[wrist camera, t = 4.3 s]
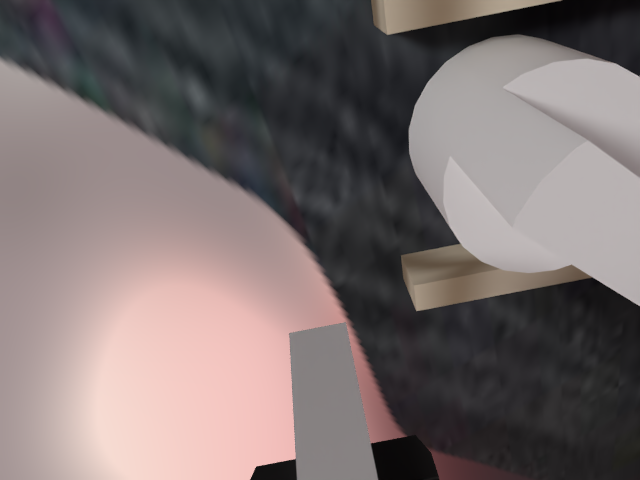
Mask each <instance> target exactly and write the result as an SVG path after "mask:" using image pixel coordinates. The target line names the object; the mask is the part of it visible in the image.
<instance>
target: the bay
mask: <svg viewBox="0 0 640 480" xmlns="http://www.w3.org/2000/svg"><path fill="white" fill-rule="evenodd" d="M556 1H561V0H371V2H372V11H373V20H374V25H375V26H376V27H378V28H379V29H380V30H382V31H383V32H384V33H386V34H387V35H389V34H394V33H399V32H404V31H409V30H414V29H419V28H424V27H429V26H434V25H439V24H444V23H449V22H454V21H459V20H465V19H470V18H475V17H480V16H485V15H490V14H495V13H500V12H505V11H510V10H515V9H520V8H525V7H530V6H535V5H540V4H546V3H551V2H556ZM401 260H402V269H403V277H404V281H405V284H406V286H407V289H408V291H409V294H410V296H411V298H412V301H413V303H414V306H415V308H416V311H419V310H425V309H430V308H435V307H440V306H445V305H451V304H456V303H461V302H466V301H472V300H477V299H482V298H487V297H492V296H498V295H503V294H508V293H513V292H518V291H524V290H529V289H534V288H539V287H544V286H550V285H555V284H560V283H565V282H571V281H576V280H581V279H586V278H591V276H590V275H588V274H586V273H585V272H583V271H582V270H580V269H578V268H577V267H575V266H573V265H569V266H566V267H563V268H560V269H557V270H551V271H543V272H535V273H523V272H514V271H505V270H502V269H499V268H497V267H494V266H491V265H489V264H486V263H484V262H481V261H480V260H479V259H478V258H476V257H475V256H474V255H473V254H471V253H470V252H469V251H468V250H466V249H465V248H464V247H463V246H462V245H461V244H457V245H452V246H447V247H442V248H437V249H431V250H426V251H421V252H416V253H411V254H405V255H401Z"/></svg>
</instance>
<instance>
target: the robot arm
mask: <svg viewBox="0 0 640 480" xmlns="http://www.w3.org/2000/svg"><path fill="white" fill-rule="evenodd" d="M289 335H290V355H291V374H292V393H293V412H294V430H295V431H294V432H295V450H296V459H295V460H289V461H284V462H278V463H273V464H268V465H262V466H257V467H256V468H255V470H254V473H253V475H252V477H251V479H250V480H439V476H438V473H437V470H436V467H435V464H434V461H433V458H432V454H431V452H430V451H429V450H428V449H427V448H426V447H425V445H424V444H423V443H422V442H421V441H420V440H419V439H418V438H417V436H416V435H413V436H408V437H402V438H397V439H392V440H387V441H381V442H376V443H370V439H369V433H368V428H367V424H366V419H365V414H364V409H363V404H362V399H361V395H360V390H359V385H358V380H357V375H356V370H355V366H354V361H353V356H352V351H351V346H350V341H349V336H348V331H347V327H346V322H345V323H340V324H335V325H329V326H324V327H319V328H314V329H309V330H303V331H298V332H293V333H290V334H289Z"/></svg>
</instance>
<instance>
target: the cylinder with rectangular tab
mask: <svg viewBox="0 0 640 480" xmlns="http://www.w3.org/2000/svg"><path fill="white" fill-rule="evenodd" d="M409 154H410V157H411V160H412V164H413V167H414V170H415V173H416V175H417V177H418V178H419V180H420V181H421V183H422V184H423V186H424V187H425V189H426V191H427V192H428V194H429V195H430V197H431V198H432V200H433V201H434V203H435V205H436V206H437V208H438V209H439V211H440V212H441V214H442V215H443V217H444V219H445V220H446V222H447V223H448V225H449V226H450V228H451V229H452V231H453V232H454V234H455V235H456V237H457V238H458V240H459V242H460V243H461V245H462V246H463V247H464V248H465V249H466V250H468V251H469V252H470V253H471V254H473V255H474V256H475V257H476V258H478V259H479V260H480V261H481V262H484V263H486V264H489V265H491V266H494V267H497V268H499V269H502V270H505V271H514V272H523V273H535V272H543V271H551V270H557V269H560V268H563V267H566V266H569V265H573V266H575V267H577V268H578V269H580V270H582V271H583V272H585V273H586V274H588V275H590V276H591V277H593V278H595V279H596V280H598V281H600V282H601V283H603V284H604V285H606V286H608V287H609V288H611V289H613V290H614V291H616V292H617V293H619V294H621V295H622V296H624V297H626V298H627V299H629V300H631V301H632V302H634V303H635V304H637V305H639V306H640V77H639V76H637V75H635V74H633V73H632V72H630V71H628V70H626V69H624V68H623V67H621V66H619V65H617V64H615V63H612V62H609V61H606V60H603V59H600V58H597V57H594V56H591V55H589V54H586V53H583V52H580V51H577V50H574V49H571V48H568V47H565V46H562V45H559V44H556V43H553V42H550V41H547V40H544V39H541V38H535V37H530V36H525V35H519V34H517V35H507V36H498V37H492V38H489V39H487V40H484V41H481V42H479V43H476V44H474V45H471V46H468V47H467V48H465V49H464V50H462V51H461V52H460V53H458V54H457V55H455V56H454V57H453V58H451V59H450V60H448V61H447V62H445V64H444V65H443V66H442V67H441V68H440V69H439V70H438V71H437V73H436V74H435V75H434V76H433V77H432V78H431V79H430V80H429V82H428V83H427V85H426V86H425V88H424V90H423V92H422V94H421V96H420V98H419V99H418V101H417V103H416V105H415V108H414V112H413V116H412V120H411V124H410V128H409Z"/></svg>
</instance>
